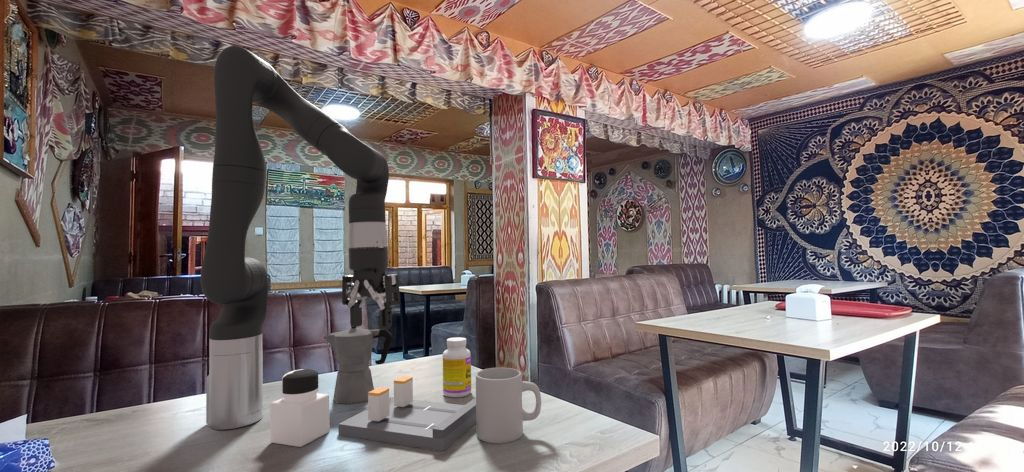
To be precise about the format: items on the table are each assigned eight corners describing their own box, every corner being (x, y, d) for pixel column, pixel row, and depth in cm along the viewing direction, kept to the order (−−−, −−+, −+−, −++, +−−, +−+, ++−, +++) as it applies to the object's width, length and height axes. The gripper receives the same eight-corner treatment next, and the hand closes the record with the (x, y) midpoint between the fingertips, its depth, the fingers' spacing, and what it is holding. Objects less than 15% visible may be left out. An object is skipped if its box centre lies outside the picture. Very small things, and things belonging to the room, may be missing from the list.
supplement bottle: (469, 398, 102) (468, 341, 102) (440, 398, 102) (439, 342, 102) (472, 389, 108) (471, 336, 109) (445, 389, 108) (444, 336, 109)
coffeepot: (319, 406, 98) (318, 324, 99) (329, 393, 107) (328, 318, 108) (391, 401, 101) (390, 321, 101) (394, 388, 110) (394, 315, 111)
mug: (472, 443, 77) (471, 379, 78) (480, 424, 86) (479, 367, 86) (541, 445, 76) (539, 380, 77) (542, 425, 85) (541, 367, 85)
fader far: (393, 405, 90) (393, 380, 91) (403, 400, 93) (402, 376, 94) (403, 407, 90) (403, 381, 90) (412, 401, 93) (412, 377, 93)
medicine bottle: (330, 432, 84) (329, 367, 84) (300, 448, 77) (300, 378, 77) (300, 428, 86) (300, 365, 87) (269, 443, 79) (269, 375, 80)
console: (338, 434, 82) (338, 415, 82) (390, 406, 97) (390, 390, 97) (443, 451, 75) (442, 430, 75) (482, 417, 89) (482, 399, 90)
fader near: (368, 420, 83) (367, 392, 83) (379, 414, 86) (378, 387, 86) (378, 421, 82) (378, 393, 82) (389, 415, 85) (389, 388, 85)
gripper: (329, 247, 89) (331, 328, 89) (377, 244, 82) (380, 332, 81) (360, 247, 96) (362, 323, 95) (407, 243, 88) (410, 326, 88)
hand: (371, 327), depth 88 cm, fingers open, 8 cm apart
